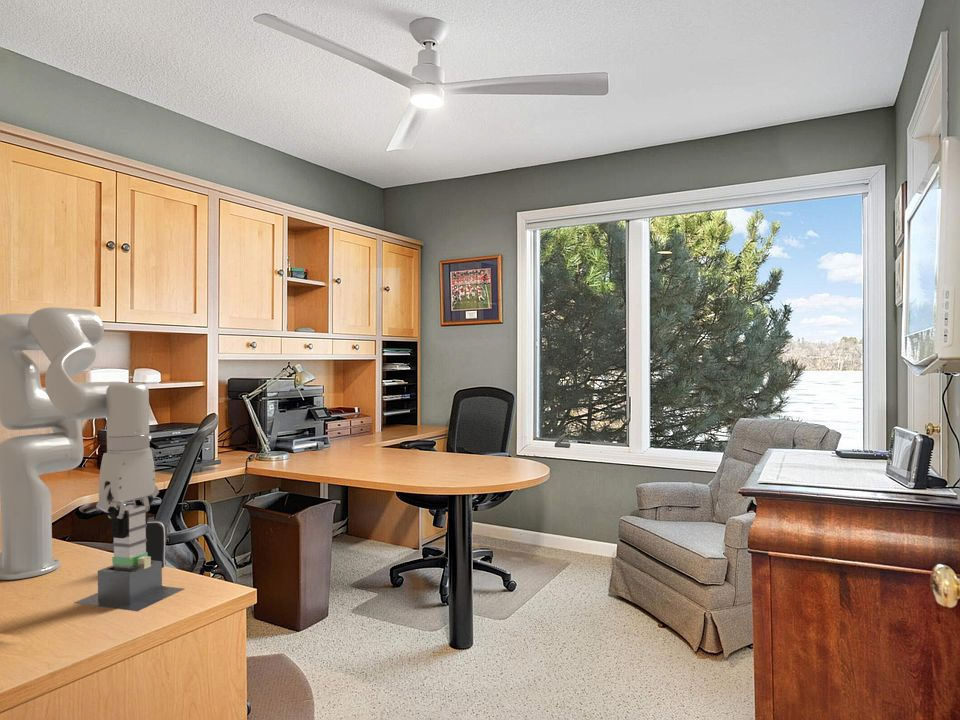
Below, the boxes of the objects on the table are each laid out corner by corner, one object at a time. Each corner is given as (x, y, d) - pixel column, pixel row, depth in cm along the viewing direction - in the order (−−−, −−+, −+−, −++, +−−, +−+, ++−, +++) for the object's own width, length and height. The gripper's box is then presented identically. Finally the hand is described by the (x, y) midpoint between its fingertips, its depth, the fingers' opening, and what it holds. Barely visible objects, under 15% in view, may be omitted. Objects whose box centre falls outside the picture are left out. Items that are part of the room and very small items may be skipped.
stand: (73, 607, 123) (72, 562, 123) (124, 586, 134) (124, 544, 134) (137, 616, 118) (137, 568, 118) (185, 593, 130) (184, 550, 130)
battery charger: (169, 566, 147) (168, 518, 147) (163, 572, 143) (163, 522, 144) (137, 568, 146) (137, 519, 146) (131, 574, 142) (130, 524, 142)
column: (112, 574, 125) (111, 509, 125) (130, 567, 129) (129, 504, 129) (129, 576, 124) (128, 510, 124) (147, 569, 128) (146, 505, 128)
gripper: (147, 438, 135) (148, 522, 135) (76, 449, 119) (77, 544, 119) (175, 439, 133) (176, 524, 133) (106, 450, 117) (108, 547, 117)
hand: (129, 533), depth 126 cm, fingers closed on column, 4 cm apart
